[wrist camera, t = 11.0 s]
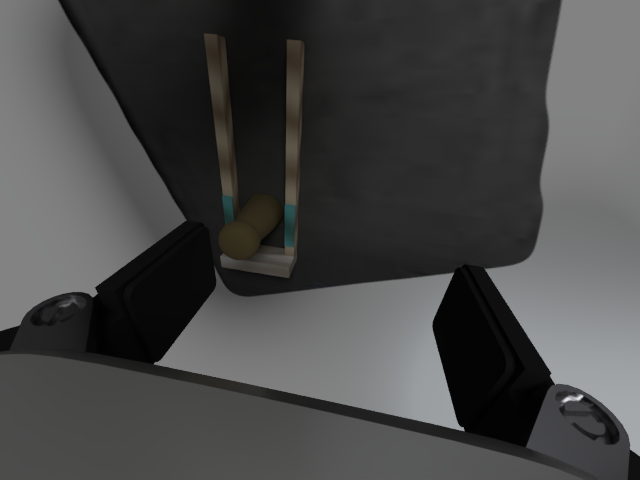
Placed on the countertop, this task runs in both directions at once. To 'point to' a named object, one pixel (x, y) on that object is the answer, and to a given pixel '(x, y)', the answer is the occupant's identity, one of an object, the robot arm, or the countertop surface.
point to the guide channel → (266, 256)
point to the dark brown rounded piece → (250, 227)
